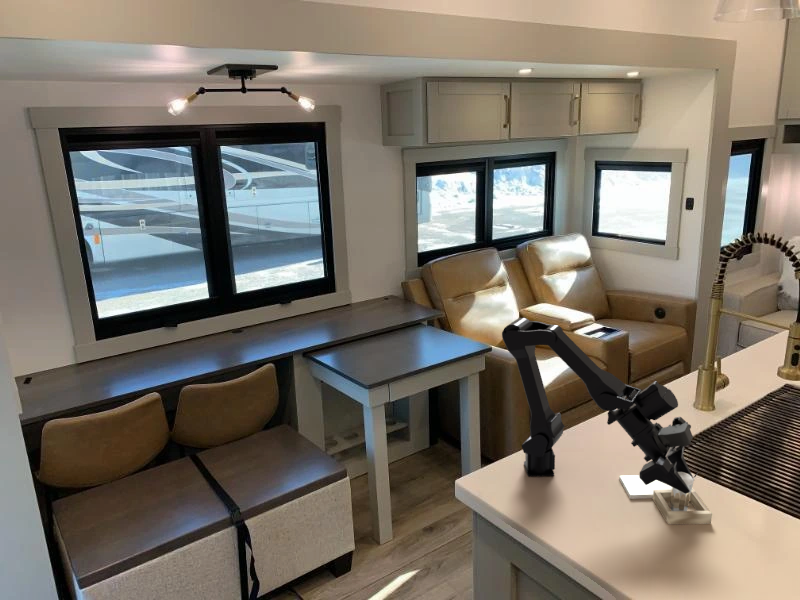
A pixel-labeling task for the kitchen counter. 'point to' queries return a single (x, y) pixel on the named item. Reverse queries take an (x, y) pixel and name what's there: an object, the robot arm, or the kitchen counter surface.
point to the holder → (682, 517)
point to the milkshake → (681, 494)
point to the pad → (641, 487)
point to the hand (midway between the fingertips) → (690, 487)
